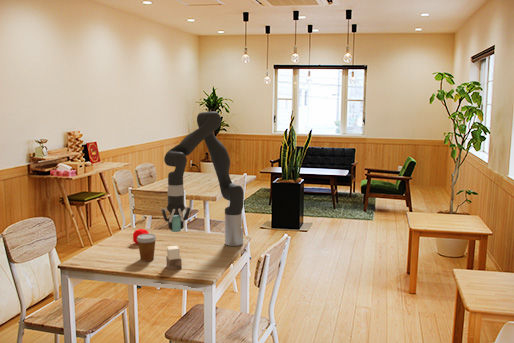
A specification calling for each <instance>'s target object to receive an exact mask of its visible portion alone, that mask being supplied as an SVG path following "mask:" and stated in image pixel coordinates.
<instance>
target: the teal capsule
mask: <svg viewBox="0 0 514 343" xmlns="http://www.w3.org/2000/svg"><path fill="white" fill-rule="evenodd" d="M171 222H172V230H170V231H171V232H173V233H179V232H181V231H182V229H181V218H180V216H179V215H174V216H173V218H172V221H171Z"/></svg>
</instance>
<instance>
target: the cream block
mask: <svg viewBox="0 0 514 343" xmlns="http://www.w3.org/2000/svg"><path fill="white" fill-rule="evenodd" d="M166 252H167V253H166V254H167V255H166V256H167V257H168V259H169V260H173V259H180V258H181V256H180V253H181V252H180V248H179V246H178V245H169V246H167V247H166Z"/></svg>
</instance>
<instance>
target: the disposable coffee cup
mask: <svg viewBox="0 0 514 343" xmlns="http://www.w3.org/2000/svg"><path fill="white" fill-rule="evenodd" d="M156 240H157V237H156V234H153V233H149V234H141V235H139V236H138V237H137V241H138V244H137V245H138V250H139V255H140V260H141V261H142V262H152V261H153V260H155V249H156Z"/></svg>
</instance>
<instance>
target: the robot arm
mask: <svg viewBox="0 0 514 343" xmlns="http://www.w3.org/2000/svg"><path fill="white" fill-rule="evenodd" d="M196 122H197V123H196V124H197V127H198V128H197V129H196V130H194V131H192V132H190V133H188V135H186V136H185V137H184V138H183V139H182V140H181V141H180V143H178V144H176V145H175V146H173V148H171V149H169V150H168V151H167V152H166V153H165V155H164V158H163V161H164V164H165V165H166V166H168V167H175V168H174V171H171V172H168V174H167V206H166V207H165V208H161V209H160V210H161V213H162V217H163V220H164V221H165V222H166V223H168V226H167V227H168V229H169V230H170V231H171V230H172V222H171V221H172V218H173V216H174V215H179V216H180V218H181V230H183V228H184V226H185V221H187V220H188V219H189V215H190V212H191V208H190V207H189V206H185V203H184V202H185V198H184V197H185V191H184V190H185V189H184V175H185V170H186V167H187V162H188V158H187V156H189V155H191V154H192V153H193V152H194V150H195V149H196V148H197V147H198V145H200V143H202V142H203V141H204V143H205V145H206V148H207V150H208V154H209V157H210V160H211V162H212V165H213V167H214V168H213V169H214V171H215V173H216V177H217V181H218V184H219V190H220V193H221V196H222V198H223V199H224V200H226V201H229V206H227V207H225V208H224V244H226V245H225V246H227V245H228V247H240V246H241V245H244V227H243V226H242V225H243V212H242V211H243V209H244V197H245V196H244V194H245V193H244V188H243V186H242V185H240V184H236V183H233V182H232V180H231V177H230V167H231V159H230V156H229V153H228V150H227V148H226V147H225V145H224V144H223V143H222V142H221V141H220V140H219V139H218V138H217V137H216V136H215V133H214V132H215V131H216V130H218V129H219V128H220V126H221V124H222V117H221V115H220V114H219V112H217V111H203V112H202V111H201V112H199V113H198V114H197V116H196ZM167 211H168V213H169V214H168V216H167ZM184 211H185V213H184V216H183V212H184Z"/></svg>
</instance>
